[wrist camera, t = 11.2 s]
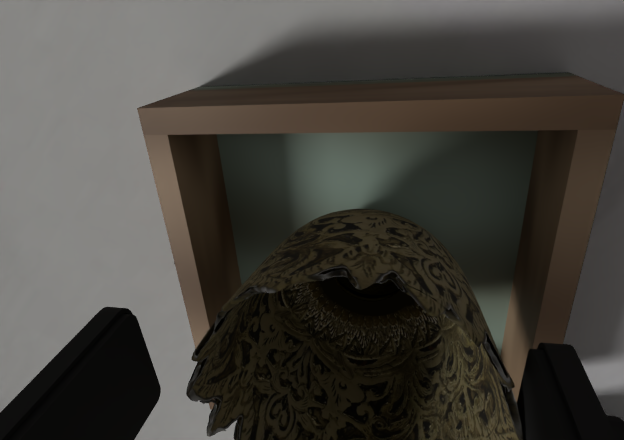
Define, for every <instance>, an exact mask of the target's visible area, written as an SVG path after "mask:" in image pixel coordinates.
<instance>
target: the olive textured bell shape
mask: <svg viewBox="0 0 624 440" xmlns="http://www.w3.org/2000/svg"><path fill="white" fill-rule="evenodd" d="M192 360H193V361H197V362H198V363H197V365H196V367H195V370H194V372H193V374H192V377H191V379H190V381H189V383H188V387H187V393H186V394H187V396H188V397H189V399H190V400H192V401H198V400H201V401H200V402H202V403H204V404H205V403H210V402H213V403H214V406H213V409H212V411H211V413H210V415H209V423H208V426H207V436H209V437H210V436H212V435H215V434H216V433H218V432H220V431H224V430H225V429H226V428H228V427H229V426H230V425H231V424H232V423H233V422H234V421H236V420H237V423H236V426H235V432H234V439H235V440H524V437H523V430H522V424H521V419H520V415H519V410H518V405H517V402H516V400H515V397H514V394H513V391H512V388H514V387H515V385H514V382H513V380H512V378H511V377H510V375H509V373H508V372H507V370H506V368H505V366H504V364H503V361H502V359H501V356H500V354H499V352H498V349H497V347H496V344H495V342H494V339H493V337H492V335H491V332H490V330H489V327H488V325H487V323H486V320H485V318H484V315H483V313H482V311H481V308H480V306H479V304H478V302H477V299H476V297H475V295H474V293H473V291H472V288H471V286H470V284H469V282H468V281H467V279H466V277H465V275H464V273H463V271H462V270H461V268H460V266H459V265H458V263H457V262H456V260H455V259H454V257H453V256H452V255H451V253H450V252H449V251H448V250H447V249H446V248H445V246H444V245H443V244H442V243H441V242H440V241H439V240H438V239H437V238H436V237H435V236H433V235H432V234H431V233H430V232H428V231H427V230H426V229H424V228H423V227H421V226H419V225H418V224H416V223H414V222H412V221H410V220H409V219H406V218H404V217H402V216H399V215H396V214H393V213H390V212H386V211H381V210H374V209H349V210H342V211H337V212H332V213H329V214H326V215H323V216H320V217H318V218H316V219H314V220H312V221H310V222H309V223H307V224H305V225H304V226H302V227H300V228H299V229H297V230H296V231H295V232H293V233H292V234H291V235H290V236H288V237H287V238H286V239H285V240H284V241H283V242H281V243H280V244H279V245H278V246H277V247H276V248H275V249H274V250H273V252H272V253H271V254H270V255H269V256H268V257H267V258H266V259H265V260H264V261H263V262H262V263H261V264H260V265H259V267H258V268H257V269H256V270H255V271H254V272H253V273H252V274H251V275H250V277H249V278H248V279H247V280H246V281H245V282H244V283H243V285H242V286H241V287H240V288H239V289H238V290H237V291H236V293H235V294H234V295H233V296H232V297H231V298H230V299H229V301H228V302H227V303H226V304H224V305H223V307H222V310H221V311H220V312H219V313H218V314H217V316H216V321H215V322H214V324H213V325H212V327H211V328H210V329H209V330H208V331H207V333H206V334H205V336H204V337H203V339H202V340H201V342H200V343H199V344H198V346H197V347H196V349H195V351H194V353H193V356H192ZM213 399H214V400H213ZM225 431H226V430H225Z"/></svg>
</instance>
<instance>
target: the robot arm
mask: <svg viewBox="0 0 624 440" xmlns="http://www.w3.org/2000/svg"><path fill="white" fill-rule="evenodd" d="M159 397H160V385H159V382H158V379H157V376H156V373H155V370H154V367H153V364H152V361H151V358H150V355H149V352H148V349H147V347H146V344H145V341H144V338H143V335H142V332H141V329H140V326H139V323H138V320H137V318H136V316H135V315H133V314H132V312H131V311H130V310H129V309H126V308H115V307H105V308H103V309H102V310H100V311H99V312H98V313H97V314H96V315H95V316H94V317H93V318H92V319H91V320H90V321H89V323H88V324H87V325H86V326H85V327H84V328H83V329H82V330H81V331H80V332H79V333H78V334H77V335H76V336H75V337H74V338H73V339H72V340H71V341H70V342H69V343H68V344H67V345H66V346H65V347H64V348H63V349H62V350H61V351H60V352H59V353H58V354H57V355H56V356H55V357H54V358H53V359H52V360H51V361H50V362H49V363H48V364H47V366H46V367H45V368H44V369H43V370H42V371H41V372H40V373H39V374H38V375H37V376H36V377H35V378H34V379H33V380H32V381H31V382H30V383H29V384H28V385H27V386H26V387H25V388H24V389H23V390H22V391H21V392H20V393H19V394H18V395H17V396H16V397H15V398H14V399H13V400H12V401H11V402H10V403H9V404H8V405H7V406H6V407H5V408H4V410H3V411H2V412H1V413H0V440H134V439H135V437H136V436H137V434H138V433H139V431H140V429H141V428H142V426H143V424H144V423H145V421H146V420H147V418H148V416H149V415H150V413H151V411H152V410H153V408H154V407H155V405H156V403H157V402H158V400H159ZM517 405H518V410H519V415H520V419H521V424H522V430H523V437H524V440H624V421H622V420H621V419H620V418H618V417H615V416H607V415H605V412H604V410H603V408H602V406H601V404H600V402H599V400H598V398H597V395H596V393H595V391H594V389H593V387H592V385H591V383H590V381H589V379H588V376H587V374H586V372H585V370H584V368H583V366H582V364H581V362H580V359H579V357H578V355H577V353H576V351H575V349H574V348H573V346H571V345H567V344H555V343H539V345H538V348H537V349H529V351H528V354H527V359H526V363H525V368H524V372H523V377H522V381H521V386H520V390H519V395H518V399H517Z"/></svg>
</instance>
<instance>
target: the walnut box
mask: <svg viewBox="0 0 624 440" xmlns="http://www.w3.org/2000/svg"><path fill="white" fill-rule="evenodd" d="M623 101H624V94H622V93H620V92H617V91H614V90H612V89H609V88H607V87H604V86H602V85H599V84H597V83H594V82H592V81H589V80H586V79H584V78H581V77H579V76H576V75H574V74H571V73H543V74H518V75H492V76H467V77H442V78H416V79H391V80H365V81H340V82H315V83H289V84H264V85H238V86H213V87H197V88H195V89H192V90H189V91H186V92H183V93H180V94H177V95H174V96H171V97H168V98H166V99H163V100H160V101H157V102H154V103H151V104H148V105H145V106H142V107H139V108H137V110H138V114H139V118H140V122H141V126H142V130H143V134H144V138H145V142H146V147H147V151H148V155H149V159H150V163H151V167H152V171H153V175H154V179H155V184H156V188H157V192H158V196H159V200H160V204H161V208H162V212H163V216H164V221H165V225H166V229H167V233H168V237H169V241H170V245H171V249H172V253H173V258H174V262H175V266H176V270H177V274H178V278H179V282H180V286H181V290H182V295H183V299H184V303H185V307H186V311H187V315H188V319H189V323H190V327H191V332H192V336H193V340H194V344H195V348H196V347H197V346H198V344H199V343H200V342H201V340H202V339H203V337H204V336H205V334H206V333H207V331H208V330H209V329H210V328H211V327H212V325H213V324H214V322H215V321H216V316H217V314H218V313H219V312H220V311H221V310H222V307H223V305H224V304H226V303H227V302H228V301H229V299H230V298H231V297H232V296H233V295H234V294H235V293H236V291H237V290H238V289H239V288H240V287H241V286H242V285H243V283H244V282H245V281H246V280H247V279H248V278H249V277H250V275H251V274H252V273H253V272H254V271H255V270H256V269H257V268H258V267H259V265H260V264H261V263H262V262H263V261H264V260H265V259H266V258H267V257H268V256H269V255H270V254H271V253H272V252H273V250H274V249H275V248H276V247H277V246H278V245H279V244H280V243H281V242H283V241H284V240H285V239H286V238H287V237H288V236H290V235H291V234H292V233H293V232H295V231H296V230H297V229H299V228H300V227H302V226H304V225H305V224H307V223H309V222H310V221H312V220H314V219H316V218H318V217H320V216H323V215H326V214H329V213H332V212H337V211H342V210H349V209H374V210H381V211H386V212H390V213H393V214H396V215H399V216H402V217H404V218H406V219H409V220H410V221H412V222H414V223H416V224H418V225H419V226H421V227H423V228H424V229H426V230H427V231H428V232H430V233H431V234H432V235H433V236H435V237H436V238H437V239H438V240H439V241H440V242H441V243H442V244H443V245H444V246H445V248H446V249H447V250H448V251H449V252H450V253H451V255H452V256H453V257H454V259H455V260H456V262H457V263H458V265H459V266H460V268H461V270H462V271H463V273H464V275H465V277H466V279H467V281H468V282H469V284H470V286H471V288H472V291H473V293H474V295H475V297H476V299H477V302H478V304H479V306H480V308H481V311H482V313H483V315H484V318H485V320H486V323H487V325H488V327H489V330H490V332H491V335H492V337H493V339H494V342H495V344H496V347H497V349H498V352H499V354H500V356H501V359H502V361H503V364H504V366H505V368H506V370H507V372H508V373H509V375H510V377H511V378H512V380H513V382H514V385H515V387H514V388H512V391H513V394H514V397H515V400H516V402H517V399H518V395H519V390H520V386H521V381H522V377H523V372H524V368H525V363H526V359H527V354H528V351H529V349H537V348H538V345H539V343H555V344H563V341H564V337H565V333H566V329H567V325H568V321H569V317H570V313H571V309H572V305H573V301H574V297H575V293H576V289H577V285H578V281H579V277H580V273H581V269H582V265H583V261H584V257H585V253H586V249H587V245H588V241H589V237H590V233H591V229H592V225H593V221H594V217H595V213H596V209H597V205H598V201H599V197H600V193H601V189H602V185H603V181H604V177H605V173H606V169H607V165H608V161H609V157H610V153H611V149H612V145H613V141H614V137H615V133H616V129H617V125H618V121H619V117H620V113H621V109H622V105H623ZM213 400H214V399H213ZM209 406H210V409H213V406H214V403H213V402H210V403H209Z"/></svg>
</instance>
